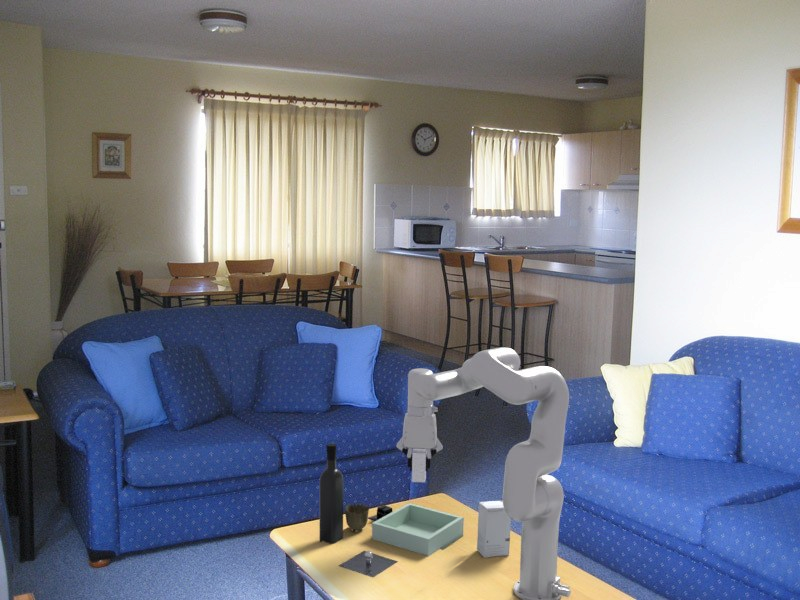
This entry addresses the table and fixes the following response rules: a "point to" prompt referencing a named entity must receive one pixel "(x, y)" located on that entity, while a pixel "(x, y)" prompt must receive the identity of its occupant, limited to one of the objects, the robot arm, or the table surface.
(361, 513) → the cup
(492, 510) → the skincare box
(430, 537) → the bin
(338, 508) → the wine bottle
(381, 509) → the black slotted box
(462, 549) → the table surface
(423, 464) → the strut
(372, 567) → the stud plate
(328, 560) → the table surface
